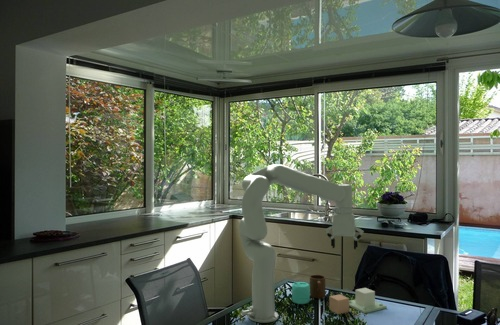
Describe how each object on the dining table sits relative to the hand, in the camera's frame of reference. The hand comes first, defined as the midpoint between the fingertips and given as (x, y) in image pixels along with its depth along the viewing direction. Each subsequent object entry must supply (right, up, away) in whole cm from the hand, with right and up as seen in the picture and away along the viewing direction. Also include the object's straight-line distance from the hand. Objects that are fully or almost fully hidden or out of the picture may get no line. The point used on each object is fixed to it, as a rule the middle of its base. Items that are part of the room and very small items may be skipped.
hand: (344, 248), depth 184 cm
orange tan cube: (-4, -26, -8) cm, 27 cm away
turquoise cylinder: (-19, -26, +4) cm, 33 cm away
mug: (-11, -26, +9) cm, 29 cm away
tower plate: (+9, -26, -3) cm, 27 cm away
